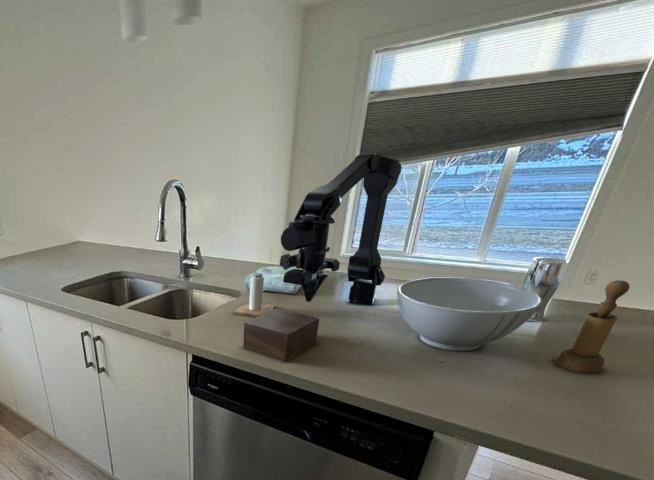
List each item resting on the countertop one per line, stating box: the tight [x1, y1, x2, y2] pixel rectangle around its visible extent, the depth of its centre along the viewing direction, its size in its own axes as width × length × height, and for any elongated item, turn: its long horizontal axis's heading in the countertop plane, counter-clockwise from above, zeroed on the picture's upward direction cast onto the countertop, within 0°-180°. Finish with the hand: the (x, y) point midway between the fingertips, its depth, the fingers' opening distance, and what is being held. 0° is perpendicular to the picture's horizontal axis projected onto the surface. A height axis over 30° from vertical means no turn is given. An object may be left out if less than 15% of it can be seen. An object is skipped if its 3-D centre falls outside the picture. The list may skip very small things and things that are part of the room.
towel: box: [244, 266, 302, 295], centre depth 148 cm, size 18×21×5 cm
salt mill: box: [248, 272, 264, 310], centre depth 125 cm, size 4×4×11 cm
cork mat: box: [233, 301, 276, 317], centre depth 128 cm, size 10×10×1 cm
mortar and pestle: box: [556, 279, 631, 374], centre depth 80 cm, size 7×6×18 cm
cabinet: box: [242, 307, 320, 362], centre depth 103 cm, size 14×13×7 cm
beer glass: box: [522, 256, 570, 322], centre depth 103 cm, size 7×7×15 cm
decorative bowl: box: [396, 276, 542, 352], centre depth 96 cm, size 27×27×12 cm
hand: (308, 301), depth 113 cm, fingers closed
